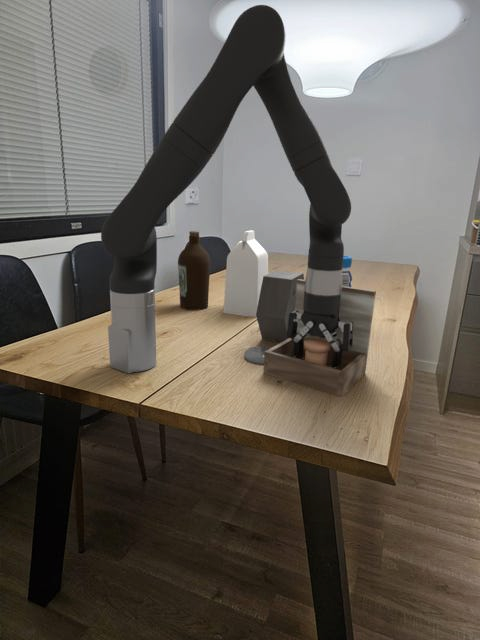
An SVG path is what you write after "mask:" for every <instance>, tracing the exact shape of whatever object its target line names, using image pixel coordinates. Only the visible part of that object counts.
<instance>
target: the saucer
mask: <svg viewBox="0 0 480 640" xmlns="http://www.w3.org/2000/svg"><path fill="white" fill-rule="evenodd" d="M270 348H271V347H263V346H258V347H257V346H255V347H250V348H248V349H246V350H244V352H243V357H244V358H243V359H245V360H246V361H248V362H249V363H250V362H251V363H254V364H257V365H258V364H259V365H264V352H265V351H267V350H269V349H270Z"/></svg>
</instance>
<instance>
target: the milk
mask: <svg viewBox="0 0 480 640" xmlns="http://www.w3.org/2000/svg"><path fill="white" fill-rule="evenodd" d="M242 236H243V237H242V240H240V241H238V242H237V243H236V245H235V247H234V248H233V249H232V250H231V251H230V252H229V253H228V254H227V257H226V265H225V266H226V269H225V270H226V271H225V283H224V285H225V286H224V299H223V300H224V301H223V314H228V315H229V314H230V315H237V316H238V315H239V316H245V317H252V318H257V317H256V312H257V307H258V302H259V296H260V291H261V286H262V281H263V276H265V275H267V274H269V254H268V252H267V250H265V248H264V247H263V246H262V245H261V244H260V243H259V242H258V240H256V238H255V237H256V236H255V230H246V231H244V232H243V235H242Z"/></svg>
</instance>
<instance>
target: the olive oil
mask: <svg viewBox="0 0 480 640" xmlns="http://www.w3.org/2000/svg"><path fill="white" fill-rule="evenodd" d="M188 233H189V236H188V244H187V245H186V246H185V247H184V249H183V250H182V251H181V252H180V253H179V256H178V258H177V269H178V270H177V271H178V272H177V273H178V286H179V306H180V309H183V310H186V311H202V310H205V309H207V308H208V307H209V293H210V278H211V277H210V274H211V273H210V272H211V258H210V254H209V253H208V252H207V251H206V249H205V248H204V247H203V246H202V245H201V243H200V242H201V241H200V240H201V239H200V238H201V237H200V231H198V230H197V231H196V230H194V231H193V230H192V231H191V230H190V231H189V232H188Z"/></svg>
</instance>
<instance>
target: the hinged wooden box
mask: <svg viewBox="0 0 480 640" xmlns="http://www.w3.org/2000/svg"><path fill="white" fill-rule="evenodd" d="M304 291H305V279H304V280H302V279H298V280H297V289H296V302H295V310H297V311H299V313H302V314H303V311H304V310H303V305H304ZM376 295H377V290H371V289H367V288H366V289H364V288H359V287H358V288H357V287H353V286H352V287H347V286H342V291H341V300H340V310H339V319H340V321H344V322H349V321H352V322H353V323H354V325H353V346H352V348H351V349H349V350H348V351H343V352H342V361H341V364H340V365H339V366H338V367H336V368H332V358H333V352H334V351H335V350H334V349H333V347H332V345H331V350H330V351H329V352H328V357H327V366H323V365H320V364H316V363H312V362H308V361H305V351H306V350H305V349H304V345H303V356H302V357H301V358H299V359H298V358H296V355H294V340H293V339H291V338H289V339H287V340H285V341H283V342H279V343H278V344H276V345H274V346H272V347H269V348H270V349H269V350H267V351H265V352H264V364H263V370H262V371H263V374H265V375H269V376H272V377H276V378H279V379H282V380H285V381H289V382H292V383H294V384H298V385H302V386H306V387H308V388H312V389H315V390H318V391H320V392H321V391H322V392H324V393H327V394H332V395H335V396H338V397H341V398H342V397H343V396H344V395H345V394H346V393H347V392H349V390H350V389H352V388H353V386H354V385H355V384H356V383H357V382H358V381H359V380H360V379H362V377H363V376H364V375H365V374H366V371H367V370H366V369H367V361H368V356H369V346H370V341H371V340H370V339H371V331H372V324H373V317H374V316H373V315H374V310H375V309H374V308H375V301H376ZM304 327H305V326H304V324H303V322H302V320H301V319H300V321H298V325H297V333H298V334H299V332H300V331H301V330H302V329H303V328H304ZM336 331H337V332H338V334H339V336H340V340H341V342H342V343H343V332H342V331H341V328H340V327H338V328H337V329H336ZM331 335H332V334H331ZM309 337H318V336H311V335H310V334H307V335H306V336H305V337H304V339H306V338H309ZM304 339H302V341H304ZM325 339H326V338H325Z"/></svg>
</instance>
